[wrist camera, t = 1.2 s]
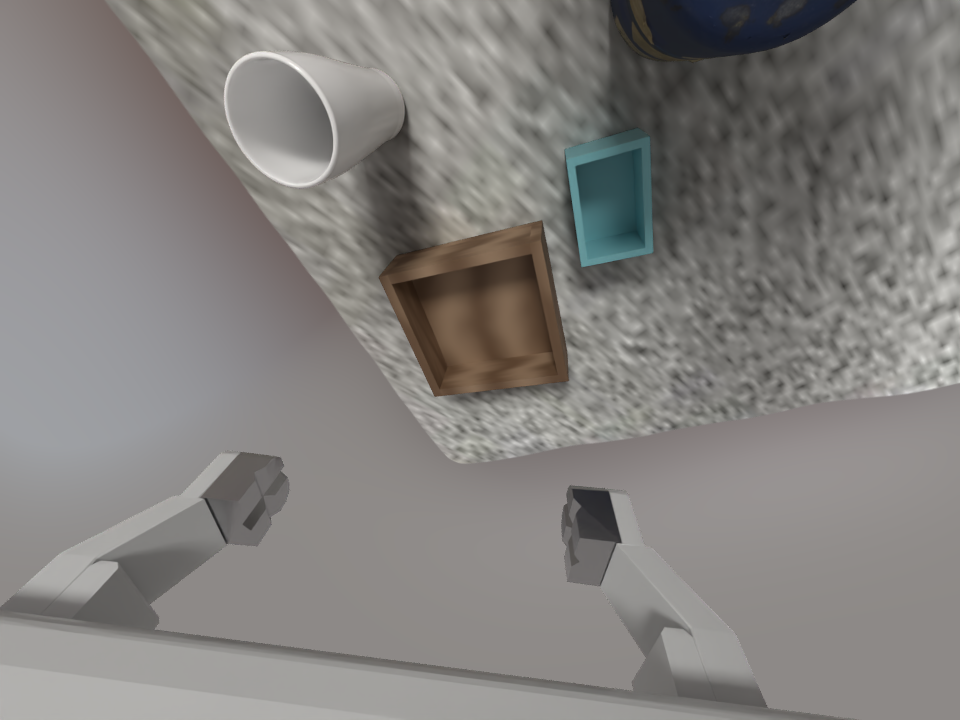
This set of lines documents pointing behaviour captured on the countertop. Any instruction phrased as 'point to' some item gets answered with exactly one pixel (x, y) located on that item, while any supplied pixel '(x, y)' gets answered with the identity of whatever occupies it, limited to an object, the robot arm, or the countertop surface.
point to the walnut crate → (481, 311)
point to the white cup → (309, 114)
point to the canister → (717, 25)
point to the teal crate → (612, 197)
